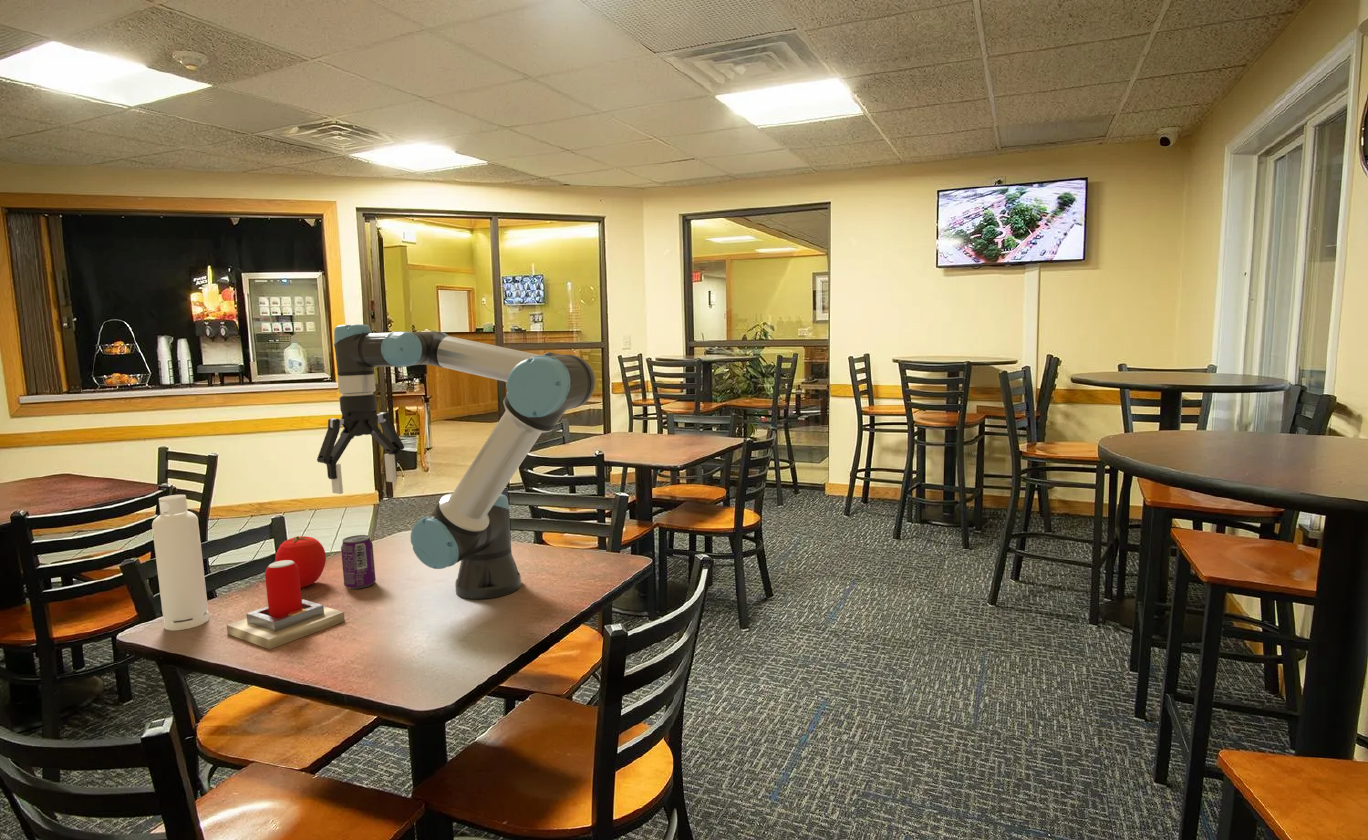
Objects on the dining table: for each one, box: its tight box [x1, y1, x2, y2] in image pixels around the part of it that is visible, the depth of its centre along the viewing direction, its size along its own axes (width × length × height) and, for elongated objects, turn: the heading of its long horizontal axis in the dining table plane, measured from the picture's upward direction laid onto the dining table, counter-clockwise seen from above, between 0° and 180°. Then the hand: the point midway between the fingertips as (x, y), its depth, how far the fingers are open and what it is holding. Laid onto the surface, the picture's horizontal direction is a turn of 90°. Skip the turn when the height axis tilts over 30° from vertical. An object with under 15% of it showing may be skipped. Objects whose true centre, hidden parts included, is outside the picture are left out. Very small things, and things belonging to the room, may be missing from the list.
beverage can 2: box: [340, 534, 376, 590], centre depth 178 cm, size 7×7×12 cm
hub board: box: [226, 606, 345, 650], centre depth 153 cm, size 16×16×2 cm
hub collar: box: [246, 599, 325, 632], centre depth 153 cm, size 10×10×2 cm
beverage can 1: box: [264, 560, 303, 618], centre depth 153 cm, size 6×6×12 cm
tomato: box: [274, 535, 327, 588], centre depth 179 cm, size 11×11×13 cm
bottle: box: [151, 494, 210, 631], centre depth 157 cm, size 8×8×28 cm
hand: (365, 487), depth 165 cm, fingers open, 13 cm apart
